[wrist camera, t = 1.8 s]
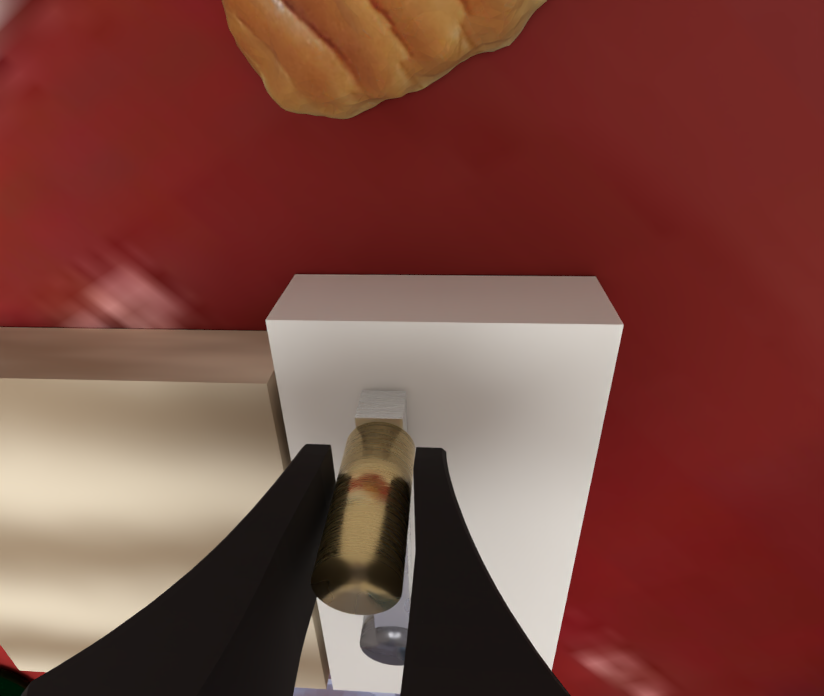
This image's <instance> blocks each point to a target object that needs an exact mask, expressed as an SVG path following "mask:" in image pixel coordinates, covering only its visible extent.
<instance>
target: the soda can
mask: <svg viewBox="0 0 824 696" xmlns="http://www.w3.org/2000/svg"><path fill="white" fill-rule="evenodd" d="M29 684H30V682H28V681H27V680H26V679H24V678H23V677H21V676H19V675H17V674H15V673H12V672H10V671H7V670H4V669H0V696H21V695H22V693H23V692H24V690H25V689H26V688H27V686H28V685H29Z"/></svg>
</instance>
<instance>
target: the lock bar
mask: <svg viewBox="0 0 824 696" xmlns="http://www.w3.org/2000/svg"><path fill="white" fill-rule="evenodd" d="M355 424H356V428H355V429H354V430H353V431H352V432H351V433H350V435H349V437H348V439H347V442H346V446H345V450H344V454H343V458H342V462H341V465H340V469H339V473H338V477H337V481H336V485H335V488H334V492H333V496H332V500H331V504H330V508H329V511H328V515H327V519H326V523H325V527H324V531H323V534H322V538H321V542H320V546H319V550H318V554H317V557H316V561H315V565H314V569H313V573H312V577H311V586H312V589H313V591H314V593H315V595H316V596H317V597H318V598H319V599H320V600H321V601H322V602H323V603H325V604H326V605H328V606H329V607H331V608H333V609H336V610H338V611H341V612H344V613H348V614H355V615H364V617H363V624H362V630H361V637H360V648H361V650H362V651H363V652H364V654H365V655H367V656H368V657H369V658H371V659H373V660H375V661H377V662H380V663H383V664H387V665H395V666H402V665H404V659H405V650H406V641H407V632H408V623H409V613H410V603H411V593H412V554H411V523H410V503H411V492H412V481H413V467H414V459H415V445H414V442H413V440H412V438H411V437H410V436H409V434H408V431H407V400H406V391H379V390H362V392H361V396H360V400H359V404H358V408H357V412H356V415H355Z"/></svg>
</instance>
